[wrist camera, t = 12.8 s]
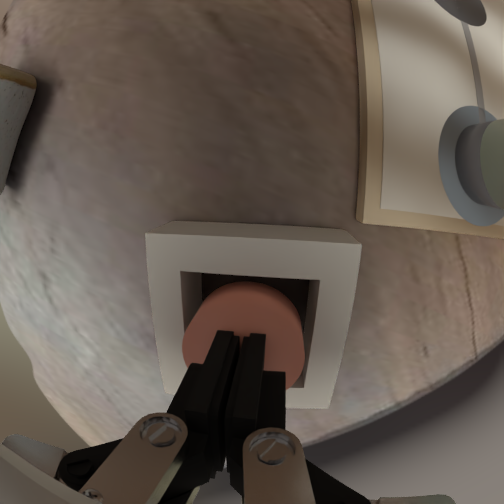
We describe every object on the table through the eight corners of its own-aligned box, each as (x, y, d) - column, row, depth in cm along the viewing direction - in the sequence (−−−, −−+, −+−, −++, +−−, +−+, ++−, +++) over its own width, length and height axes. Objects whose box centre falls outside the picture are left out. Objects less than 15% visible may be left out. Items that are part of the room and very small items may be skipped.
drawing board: (339, -59, 8) (341, -71, 6) (500, 4, 6) (509, -1, 5) (355, 219, 12) (363, 224, 11) (527, 240, 11) (539, 245, 10)
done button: (194, 277, 11) (177, 297, 9) (307, 284, 11) (312, 307, 9) (199, 365, 12) (187, 393, 10) (295, 374, 12) (296, 404, 10)
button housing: (172, 220, 13) (144, 233, 10) (344, 229, 12) (362, 244, 10) (182, 360, 15) (165, 393, 12) (322, 371, 14) (328, 408, 12)
